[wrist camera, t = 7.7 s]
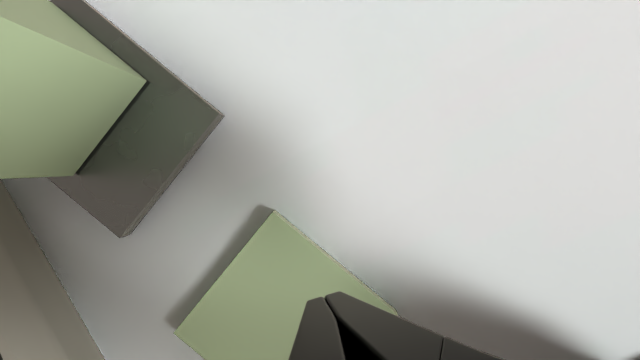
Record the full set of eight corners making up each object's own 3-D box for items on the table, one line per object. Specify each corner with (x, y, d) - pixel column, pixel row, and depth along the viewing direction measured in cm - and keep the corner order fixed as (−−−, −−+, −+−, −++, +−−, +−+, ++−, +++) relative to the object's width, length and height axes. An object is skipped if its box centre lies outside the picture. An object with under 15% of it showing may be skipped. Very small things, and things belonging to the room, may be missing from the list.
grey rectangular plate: (224, 115, 21) (218, 113, 20) (130, 234, 22) (119, 238, 21) (75, -8, 21) (62, -16, 20) (-16, 113, 22) (-33, 111, 21)
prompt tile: (395, 309, 21) (397, 315, 20) (296, 425, 22) (295, 435, 21) (275, 210, 21) (272, 211, 20) (179, 326, 22) (173, 333, 21)
